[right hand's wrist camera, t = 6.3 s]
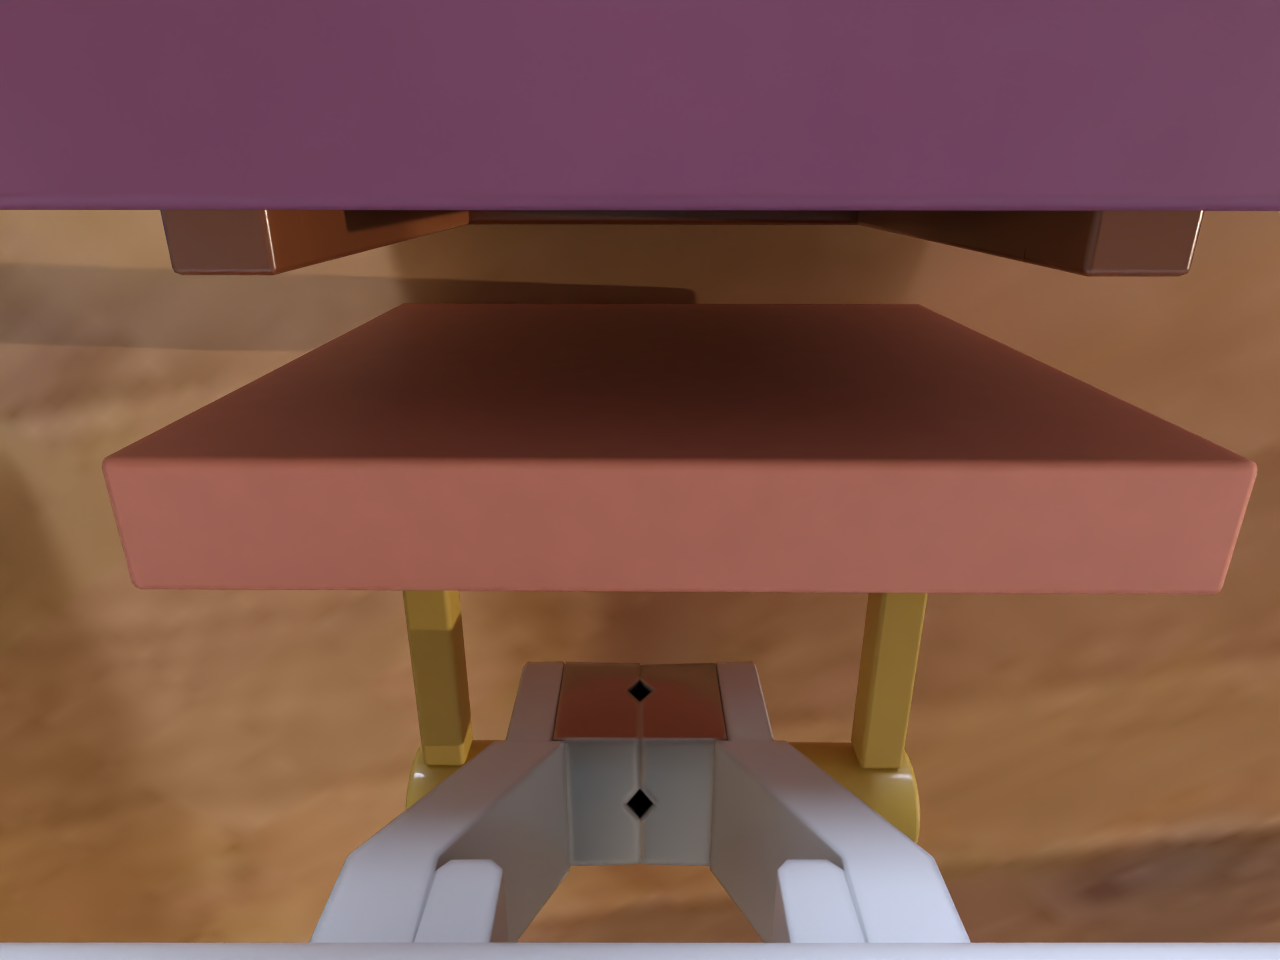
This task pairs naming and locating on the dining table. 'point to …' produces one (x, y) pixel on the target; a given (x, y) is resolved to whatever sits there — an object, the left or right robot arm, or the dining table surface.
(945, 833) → the dining table surface
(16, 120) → the cabinet
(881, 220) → the drawer
